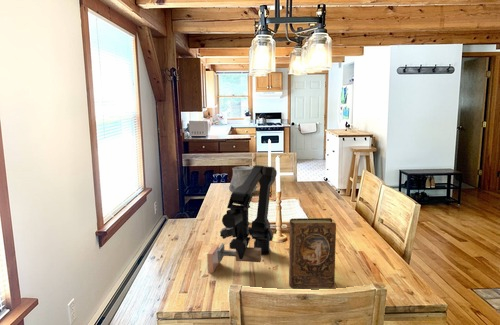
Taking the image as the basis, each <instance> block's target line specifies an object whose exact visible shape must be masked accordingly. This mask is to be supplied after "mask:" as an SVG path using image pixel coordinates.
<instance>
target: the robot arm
mask: <svg viewBox="0 0 500 325" xmlns="http://www.w3.org/2000/svg"><path fill="white" fill-rule="evenodd" d="M277 173H278V172H277V169H275V167H274V166H265V165H260V164H258V165H257V164H256V165H253V167H252V171H251V173H250V174H249V176H248V177H247V178H246V180H245V181H244V183H243V184H242V185H241V186H239V187H237V188H236V189H235V190H234V191H233V192H231V194H230V198H229V200H228V203H227V206H226V209H227V210H226V213H225V214H224V215H223V216H222V219H221V222H222V225H223V226H224V227H223V228H221V229H220V231H219V232H220V235H219V236H220V237H221V238H222V239H223V240H225V239H226V238H230V237H232V239H231V240H230V241H229V249H230V250H236V249H237V252H238V255H239V258H240V259H243V256H244V253H245V251H246V248H247V247H249V243H250V240H251V239H252V240H254V242H253V248H261V255H269V254H270V251H271V248H270V246H271V245H270V242H272V241H273V239H274V233H273V231H272V230H271V223H270V221H269V219H268V215H269V214H268V213H269V207H270V206H269V204H270V198H271V197H270V195H271V188H272V185H273V184H274V183H275V181H276V176H277ZM258 183H259V194H258V202H257V203H258V204H257V212H256V217H255V219H254V220H252V222H251V227H250V226H249V225H250V221H249V209H250V208H251V205H250V204H251V202H252V199H253V193H252V191H253V190H254V188H255V186H257V185H258ZM249 236H251V237H249Z"/></svg>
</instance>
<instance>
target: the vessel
mask: <svg viewBox="0 0 500 325" xmlns="http://www.w3.org/2000/svg"><path fill="white" fill-rule="evenodd" d="M252 168H253V167H252V166H249V165H247V166H245V165H241V166H235V167H232V168H231V169H232V176H231V180H230V184H229V185H228V190H229V191H230V192H231V193H232V192H233V191H234V190H235V189H236V188H237V187H239V186H241V185H242V184H243V183H244V181H245V180H246V178H247V177H248V176H249V174H250V173H251V171H252ZM257 188H258V186H257V185H256V186H255V188H254V190H253V191H252V194H254V193H255V192H256V190H257Z"/></svg>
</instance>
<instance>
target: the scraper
mask: <svg viewBox="0 0 500 325" xmlns="http://www.w3.org/2000/svg"><path fill="white" fill-rule="evenodd" d="M224 257H234V258H235V261H236V262H250V263H261V262H262V254H261V248H254V246H253V247H250V246H247V248H246V251H245V253H244V256H243V259H240V258H239V255H238V252H237V249H235V250H232V249H230V250H229V249H228V250H227V249H226V250H225V243H223V242H222V243H221V244H220V245H219V249H218V264H219V263H221V262H222V260H223V259H224Z"/></svg>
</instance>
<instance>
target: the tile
mask: <svg viewBox="0 0 500 325" xmlns="http://www.w3.org/2000/svg"><path fill="white" fill-rule="evenodd" d="M219 248H220V244H213V245H212V247H211V248H210V250H209V251H208V252H207V260H206V261H207V262H206V263H207V272H208V273H211V274H212V273H214V272H215V270H216V268H217V267H218V264H219V263H218V249H219Z"/></svg>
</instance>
